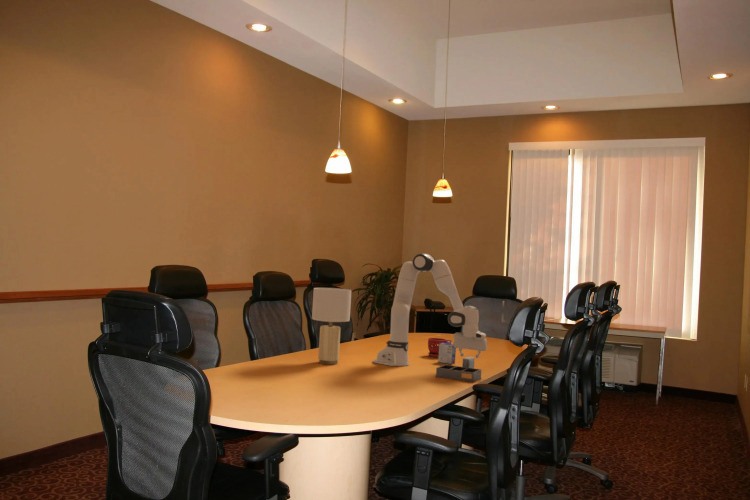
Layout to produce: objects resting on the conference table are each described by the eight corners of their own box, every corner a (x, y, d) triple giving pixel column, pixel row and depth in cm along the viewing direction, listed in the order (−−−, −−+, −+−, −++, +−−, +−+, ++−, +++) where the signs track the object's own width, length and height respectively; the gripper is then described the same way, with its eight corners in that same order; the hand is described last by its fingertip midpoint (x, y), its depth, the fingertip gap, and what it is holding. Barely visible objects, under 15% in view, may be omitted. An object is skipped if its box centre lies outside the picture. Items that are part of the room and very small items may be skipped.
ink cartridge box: (455, 363, 400) (456, 340, 401) (451, 364, 396) (453, 341, 396) (441, 361, 406) (443, 338, 406) (437, 362, 401) (439, 339, 401)
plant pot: (447, 358, 418) (448, 340, 418) (427, 357, 418) (428, 339, 418) (445, 355, 431) (446, 337, 431) (426, 354, 431) (427, 336, 431)
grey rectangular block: (462, 373, 366) (462, 358, 366) (467, 371, 375) (468, 356, 375) (468, 374, 364) (469, 359, 364) (473, 372, 373) (474, 357, 373)
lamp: (347, 360, 387) (351, 289, 387) (346, 367, 364) (351, 291, 364) (310, 358, 386) (314, 287, 387) (307, 365, 364) (312, 289, 364)
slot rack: (435, 376, 353) (436, 367, 353) (444, 372, 366) (445, 364, 366) (473, 382, 343) (473, 373, 343) (480, 378, 356) (481, 369, 356)
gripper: (452, 332, 372) (451, 355, 371) (485, 335, 362) (484, 359, 362) (455, 331, 377) (454, 354, 377) (488, 334, 368) (487, 358, 368)
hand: (469, 356), depth 370 cm, fingers open, 8 cm apart
